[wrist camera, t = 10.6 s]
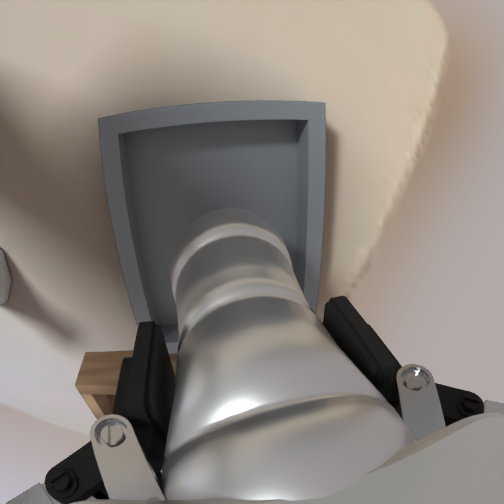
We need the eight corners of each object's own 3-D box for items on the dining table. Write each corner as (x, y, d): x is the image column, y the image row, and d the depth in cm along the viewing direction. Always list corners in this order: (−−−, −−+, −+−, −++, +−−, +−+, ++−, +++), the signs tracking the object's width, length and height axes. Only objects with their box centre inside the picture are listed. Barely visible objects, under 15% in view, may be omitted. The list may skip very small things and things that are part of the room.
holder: (85, 352, 24) (74, 385, 20) (191, 346, 26) (192, 381, 22) (122, 419, 29) (119, 449, 25) (208, 415, 31) (212, 446, 27)
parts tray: (111, 118, 17) (98, 118, 14) (308, 104, 19) (325, 102, 17) (150, 332, 25) (147, 355, 22) (302, 313, 27) (314, 333, 24)
